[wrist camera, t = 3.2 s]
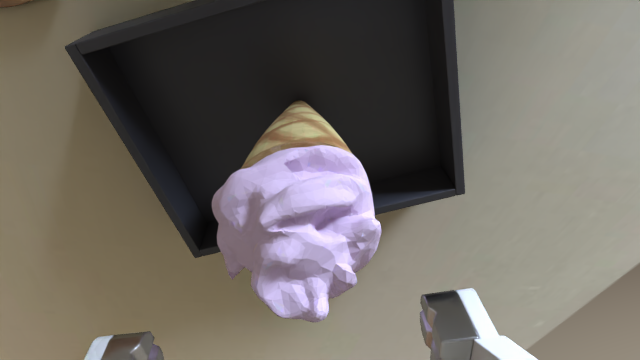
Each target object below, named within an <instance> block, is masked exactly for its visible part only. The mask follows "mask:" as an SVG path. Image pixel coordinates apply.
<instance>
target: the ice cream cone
mask: <svg viewBox="0 0 640 360" xmlns="http://www.w3.org/2000/svg"><path fill="white" fill-rule="evenodd" d="M212 210H213V214H214V216H215V218H216V220H217V221H218V223H219V226H218V232H217V244H218V246H219V249H220V251H221V252H222V254H223V255H224V260H225V263H226V268H227V270H228V273H229V275H230V277H231V278H232V280H233V278H234V277H235V276H236V275H237V274H238V273H240V272H239V271H240V270H242V269H243V268H244V267H246V268H247V269H248V270H250V271H251V272H252V277H251V287H252V288H253V290H254V292H255V293H256V295H257V296H258V298H259V299H261V300H262V301H263V302H264V303H265V304H266V305H267V306H268V307H269V308H270V309H271V310H272V311H273V312H274V313H275V314H276V315H277V316H279V317H282V318H291V319H303V320H306V321H310V322H319V321H322V320H324V319H325V318H326V316H327V314H328V312H329V303H328V299H329V298H334V297H337V296H339V295H341V294H342V293H343V292H345V291H346V290H348V289H350V288H352V287H354V286H355V284H356V283H357V278H356V274H355V273H356V272H357V271H359V270H360V269H361V268H363V267H364V266H365V265H366V264H367V263H368V262H369V261H370V259H371V257H372V256H373V254H374V253H375V251H376V250H377V247H378V243H379V239H380V236H381V233H382V230H381V225H380V222H379V221H377V220H376V219H375V212H374V205H373V198H372V192H371V188H370V184H369V181H368V177H367V175H366V172H365V170H364V168H363V166H362V164H361V162H360V161H359V160H358V159H357V158H356V157H355V156H354V155H353V154H352V153H351V151H350V150H349V148H348V147H347V145H346V144H345V143H344V141H343V140H342V138H341V137H340V136H339V135H338V134H337V132H336V131H335V130H334V129H333V128H332V127H331V125H330V124H329V123H328V122H327V121H326V120H325V119H324V118H323V117H322V116H321V115H319V114H318V113H317V112H316V111H315V110H314V109H313V108H311V107H310V106H309V105H308V104H307V103H306V102H304V101H301V100H300V101H295V102H293V103H292V104H291V105H290V106H289V107H288V108H287V109H286V110H285V111H284V112H283V113H282V114H281V115H280V116H279V117H278V118H277V119H276V120H275V121H274V122H273V123H272V124H271V125H270V126H269V128H268V129H267V130H266V131H265V132H264V134H263V135H262V136H261V138H260V139H259V140H258V141H257V143H256V144H255V146H254V148H253V149H252V151H251V152H250V154H249V156H248V157H247V159H246V161H245V162H244V164H243V166H242V167H241V169H240V170H238V171H236V172H234V173H233V174H231V175H230V177H229V178H228V179H227V181H226V182H225V184H224V186H222V187H221V188H220V189H219V190H218V191H216V193H215V194H214V196H213V200H212Z"/></svg>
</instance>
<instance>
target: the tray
mask: <svg viewBox="0 0 640 360" xmlns="http://www.w3.org/2000/svg"><path fill="white" fill-rule="evenodd" d="M65 49H66V51H67V52H68V54H69V56H70V57H71V59H72V60H73V62H74V64H75V65H76V67H77V69H78V70H79V72H80V73H81V75H82V77H83V78H84V80H85V81H86V83H87V85H88V86H89V88H90V89H91V91H92V93H93V94H94V96H95V98H96V99H97V101H98V102H99V104H100V106H101V107H102V109H103V110H104V112H105V114H106V115H107V117H108V118H109V120H110V122H111V123H112V125H113V127H114V128H115V130H116V131H117V133H118V135H119V136H120V138H121V139H122V141H123V143H124V144H125V146H126V148H127V149H128V151H129V152H130V154H131V156H132V157H133V159H134V160H135V162H136V164H137V165H138V167H139V168H140V170H141V172H142V173H143V175H144V177H145V178H146V180H147V181H148V183H149V185H150V186H151V188H152V189H153V191H154V193H155V194H156V196H157V197H158V199H159V201H160V202H161V204H162V206H163V207H164V209H165V210H166V212H167V214H168V215H169V217H170V218H171V220H172V222H173V223H174V225H175V227H176V228H177V230H178V231H179V233H180V235H181V236H182V238H183V239H184V241H185V243H186V244H187V246H188V247H189V249H190V251H191V252H192V254H193V256H194V257H195V258H197V257H201V256H205V255H210V254H214V253H218V252H221V251H220V249H219V246H218V244H217V232H218V226H219V223H218V221H217V220H216V218H215V216H214V214H213V210H212V200H213V196H214V194H215V193H216V191H218V190H219V189H220V188H221V187H222V186H224V184H225V182H226V181H227V179H228V178H229V177H230V175H231V174H233V173H234V172H236V171H238V170H240V169H241V167H242V166H243V164H244V162H245V161H246V159H247V157H248V156H249V154H250V152H251V151H252V149H253V148H254V146H255V144H256V143H257V141H258V140H259V139H260V138H261V136H262V135H263V134H264V132H265V131H266V130H267V129H268V128H269V126H270V125H271V124H272V123H273V122H274V121H275V120H276V119H277V118H278V117H279V116H280V115H281V114H282V113H283V112H284V111H285V110H286V109H287V108H288V107H289V106H290V105H291V104H292V103H293V102H295V101H300V100H301V101H304V102H306V103H307V104H308V105H309V106H310V107H311V108H313V109H314V110H315V111H316V112H317V113H318V114H319V115H321V116H322V117H323V118H324V119H325V120H326V121H327V122H328V123H329V124H330V125H331V127H332V128H333V129H334V130H335V131H336V132H337V134H338V135H339V136H340V137H341V138H342V140H343V141H344V143H345V144H346V145H347V147H348V148H349V150H350V151H351V153H352V154H353V155H354V156H355V157H356V158H357V159H358V160H359V161H360V162H361V164H362V166H363V168H364V170H365V172H366V175H367V177H368V181H369V184H370V188H371V192H372V198H373V205H374V212H375V215H377V214H381V213H385V212H389V211H393V210H397V209H402V208H406V207H410V206H414V205H418V204H423V203H427V202H431V201H435V200H439V199H443V198H448V197H452V196H455V195H461V194H465V184H464V168H463V151H462V135H461V118H460V101H459V85H458V68H457V52H456V35H455V18H454V2H453V0H195V1H192V2H189V3H185V4H182V5H179V6H175V7H172V8H169V9H165V10H162V11H159V12H156V13H152V14H149V15H146V16H142V17H139V18H136V19H133V20H129V21H126V22H123V23H119V24H116V25H113V26H109V27H106V28H103V29H100V30H96V31H93V32H91V33H89V34H87V35H85V36H84V37H82V38H80V39H78V40H76V41H74V42H72V43H70V44H69V45H67V46H65Z"/></svg>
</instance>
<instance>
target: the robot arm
mask: <svg viewBox="0 0 640 360" xmlns="http://www.w3.org/2000/svg"><path fill="white" fill-rule="evenodd" d="M420 303H421V306H422V309H423V310H422V311H421V312H420V324H421V331H422V335H423V338H424V341H425V344H426V345H427V346H428V347H429V348H430V349H431V355H430V360H538V359H536V358H535V357H534V356H532V355H531V354H529V353H528V352H527V351H525V350H524V349H522V348H521V347H520V346H518V345H517V344H515V343H514V342H513V341H511V340H510V339H508V338H507V337H506V336H499V335H498V333H497V331H496V329H495V327H494V325H493V324H492V322H491V320H490V318H489V316H488V314H487V312H486V310H485V308H484V306H483V305H482V303H481V301H480V299H479V297H478V295H477V293H476V291H475V290H474V289H473V288H469V289H462V290H455V291H454V290H451V291H444V292H438V293H431V294H424V295H422V296H421V302H420ZM153 341H154V336H153V335H152V333H151V332H150V331H148V332H139V333H129V334H120V335H111V336H103V337H97V338H96V339H95V340H94V341H93V342H92V344H91V346H90V348H89V350H88V352H87V354H86V356H85V358H84V360H164V357H163V352H162V350H161V348H160V347H159V346H157V345H155V344H153Z"/></svg>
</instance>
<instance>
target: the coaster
mask: <svg viewBox="0 0 640 360" xmlns="http://www.w3.org/2000/svg"><path fill="white" fill-rule="evenodd" d="M30 1H33V0H0V8H1V7H12V6H17V5H21V4H25V3H28V2H30Z"/></svg>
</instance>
